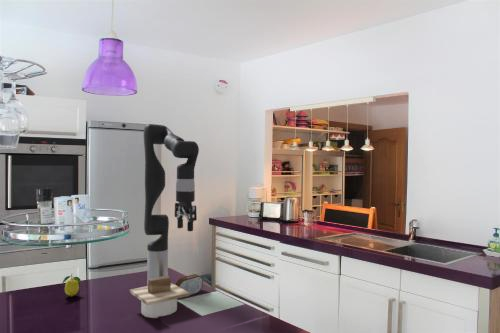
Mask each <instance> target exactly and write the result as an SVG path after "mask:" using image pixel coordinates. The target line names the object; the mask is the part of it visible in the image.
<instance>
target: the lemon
mask: <svg viewBox="0 0 500 333" xmlns="http://www.w3.org/2000/svg"><path fill="white" fill-rule="evenodd" d="M81 280H82V279H81V278H80V277H79V276H73V274H71V275H68V276H66V277H64V278H63V281H62V282H61V283H62V284H64V283H65V285H64V293H65V294H66V295H67V296H70V297H73V296H74V295H77V294H78V292H79V289H80V284H79V283H81V282H82V281H81Z"/></svg>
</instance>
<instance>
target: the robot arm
mask: <svg viewBox="0 0 500 333" xmlns="http://www.w3.org/2000/svg"><path fill="white" fill-rule="evenodd" d="M154 145H159V146H160V145H164V147H165V148H166V149H167V150H168V151H170V152H171V153H172V156H173V157H175V158H177V159H186V162H184V163H182V164H178V165H177V167H176V182H175V202H174V218H176V220H177V221H176V222H177V227H176V228H177V229H183V227H184V217H185V218H186V221H187V230H186V231H188V232H193V231H194V222H195V221H197V205H196V204H195V205H193V203H194V202H195V199H196V198H195V194H196V193H195V192H196V190H195V187H196V186H195V168H196V163H197V159H198V156H199V151H200V149H199V145H198V142H196V141H192V140H190V141H189V140H185V139H183V138H182V137H181V136H178V135H176V134H174V133H173V131H171V129H170V128H169V127H167V126H166V125H164V124H163V125H162V124H153V123H148V124H146V125H145V126H144V129H143V146H144V156H145V157H144V159H145V160H144V162H145V164H144V166H145V167H144V192H145V193H144V194H145V195H144V196H145V202H144V220H143V222H144V223H143V226H144V227H143V230H144V234H145V235H146V236H159V237H158V238H157V239H155V240H153V241H150V242H148V243H147V246H146V247H147V261H146V263H147V264H146V265H147V268H146V269H147V270H146V271H147V272H146V273H147V274H146V279H147V282H146V286H148V279H152V278H157V277H162V276H169V270H168V269H169V225H170V222H169V221H170V220H169V216H168V215H167V214H153V209H154V208H155V204H156V203H157V201H158V200H159V198H160V196H161V194H162V193H163V191H164V189H165V188H166V171H165V168H164V167H163V165H162V163H161V162H160V160H159V159H158V157H157V155H156V152H155V148H154Z"/></svg>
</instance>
